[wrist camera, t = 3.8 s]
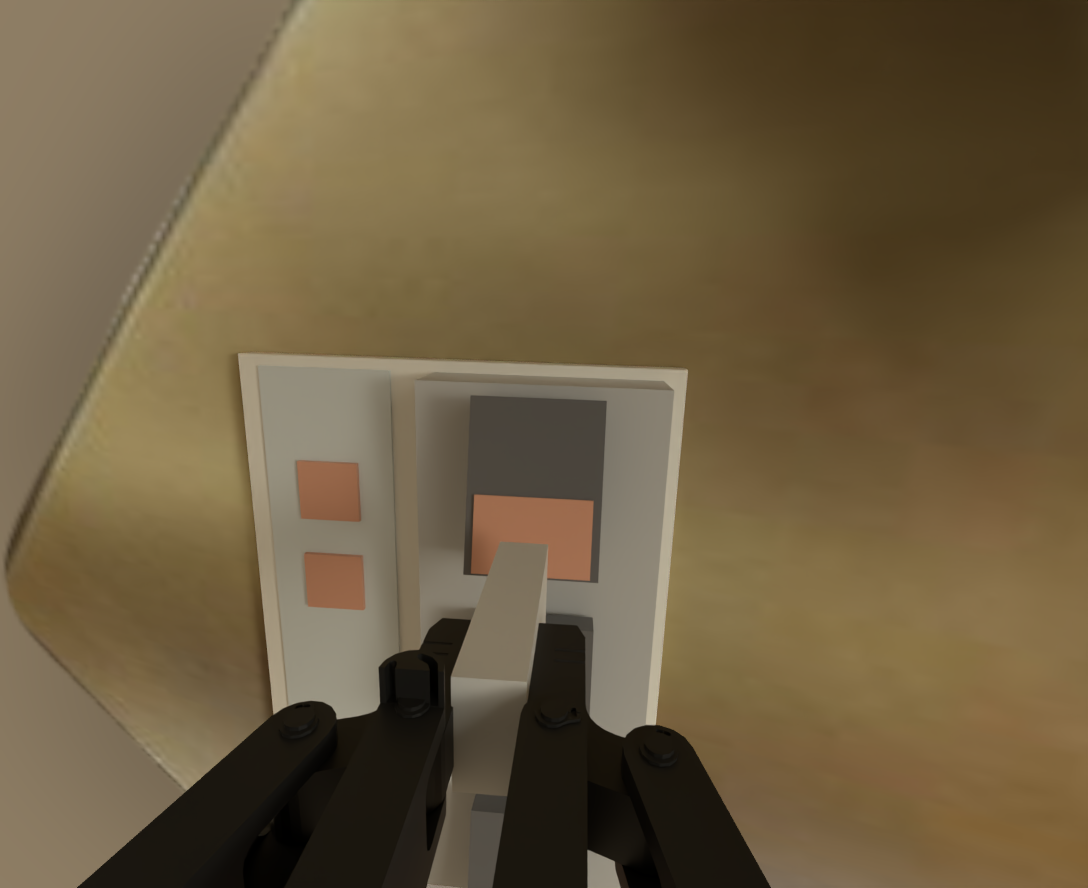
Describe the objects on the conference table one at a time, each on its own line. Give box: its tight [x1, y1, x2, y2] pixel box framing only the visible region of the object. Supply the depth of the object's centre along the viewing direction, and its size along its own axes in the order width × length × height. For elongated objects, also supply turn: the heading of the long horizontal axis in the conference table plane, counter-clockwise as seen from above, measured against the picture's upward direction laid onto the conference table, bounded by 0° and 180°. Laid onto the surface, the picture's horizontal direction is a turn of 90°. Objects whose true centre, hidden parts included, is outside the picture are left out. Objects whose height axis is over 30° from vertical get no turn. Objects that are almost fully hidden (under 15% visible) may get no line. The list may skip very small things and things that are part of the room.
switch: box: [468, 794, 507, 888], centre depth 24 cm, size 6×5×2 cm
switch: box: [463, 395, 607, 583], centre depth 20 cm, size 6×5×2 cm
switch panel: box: [238, 352, 688, 888], centre depth 26 cm, size 26×20×4 cm
